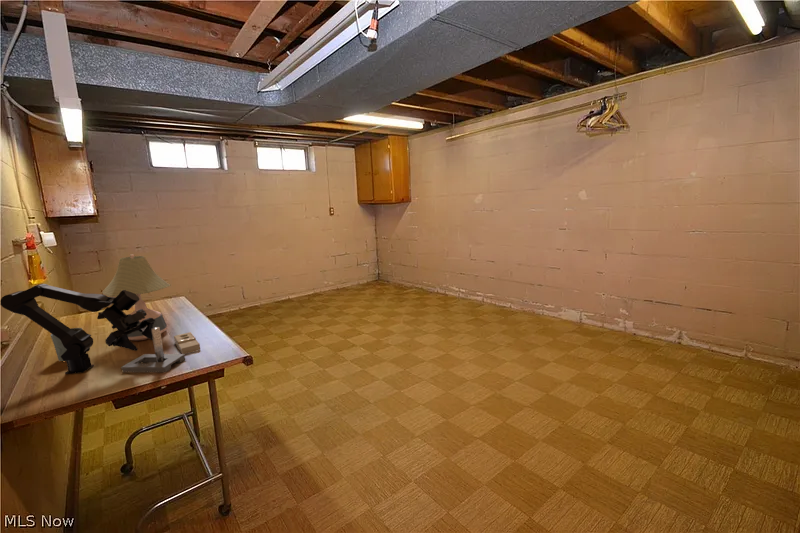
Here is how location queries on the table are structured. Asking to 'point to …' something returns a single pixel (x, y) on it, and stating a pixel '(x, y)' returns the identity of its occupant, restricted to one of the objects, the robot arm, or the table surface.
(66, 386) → the table surface
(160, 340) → the steel post
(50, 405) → the table surface
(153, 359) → the keyhole plate
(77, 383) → the table surface
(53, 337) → the drinking glass
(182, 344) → the electrical outlet
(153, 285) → the desk lamp
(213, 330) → the table surface
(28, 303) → the robot arm
